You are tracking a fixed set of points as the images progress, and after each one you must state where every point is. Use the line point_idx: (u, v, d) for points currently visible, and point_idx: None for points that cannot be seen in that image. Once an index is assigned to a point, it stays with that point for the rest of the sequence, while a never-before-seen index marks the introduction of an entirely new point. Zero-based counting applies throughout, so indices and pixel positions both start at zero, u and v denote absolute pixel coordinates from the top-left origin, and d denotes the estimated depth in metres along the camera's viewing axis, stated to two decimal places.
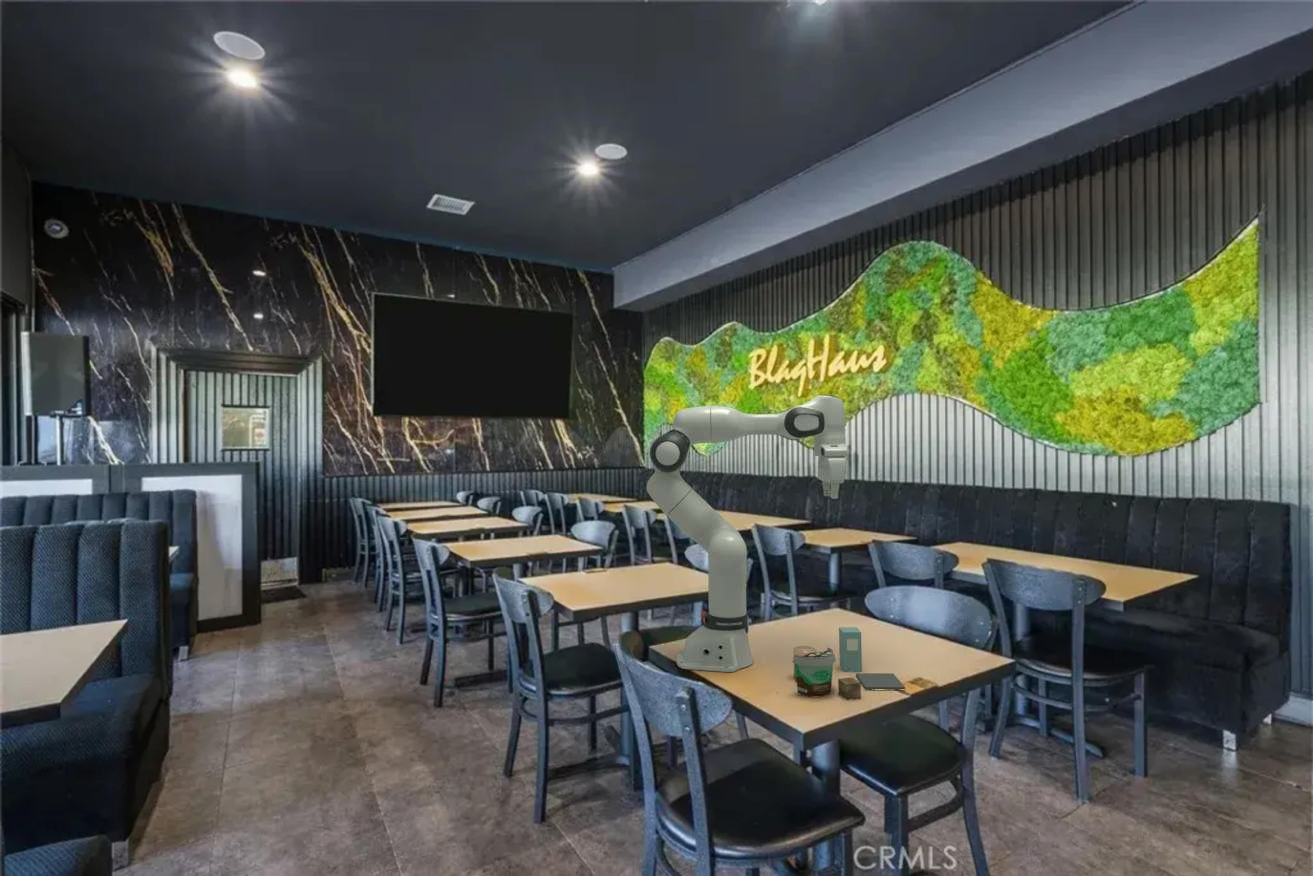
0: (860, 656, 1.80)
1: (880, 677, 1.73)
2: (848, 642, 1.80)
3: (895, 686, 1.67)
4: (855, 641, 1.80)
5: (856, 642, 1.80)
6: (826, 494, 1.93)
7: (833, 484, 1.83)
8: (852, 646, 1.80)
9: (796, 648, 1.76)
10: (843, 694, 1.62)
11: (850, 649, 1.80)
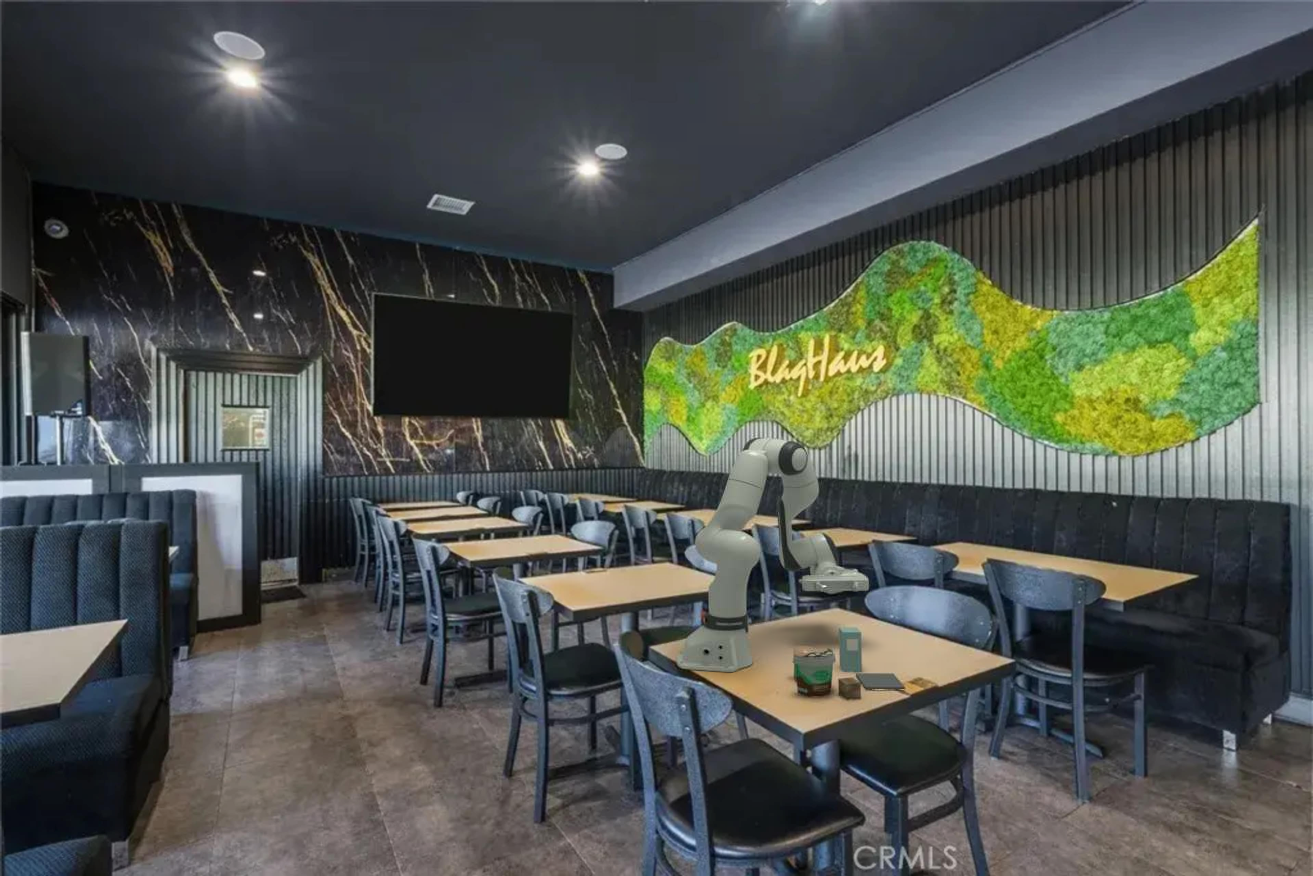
0: (860, 656, 1.80)
1: (880, 677, 1.73)
2: (848, 642, 1.80)
3: (895, 686, 1.67)
4: (855, 641, 1.80)
5: (856, 642, 1.80)
6: None
7: None
8: (852, 646, 1.80)
9: (796, 648, 1.76)
10: (843, 694, 1.62)
11: (850, 649, 1.80)
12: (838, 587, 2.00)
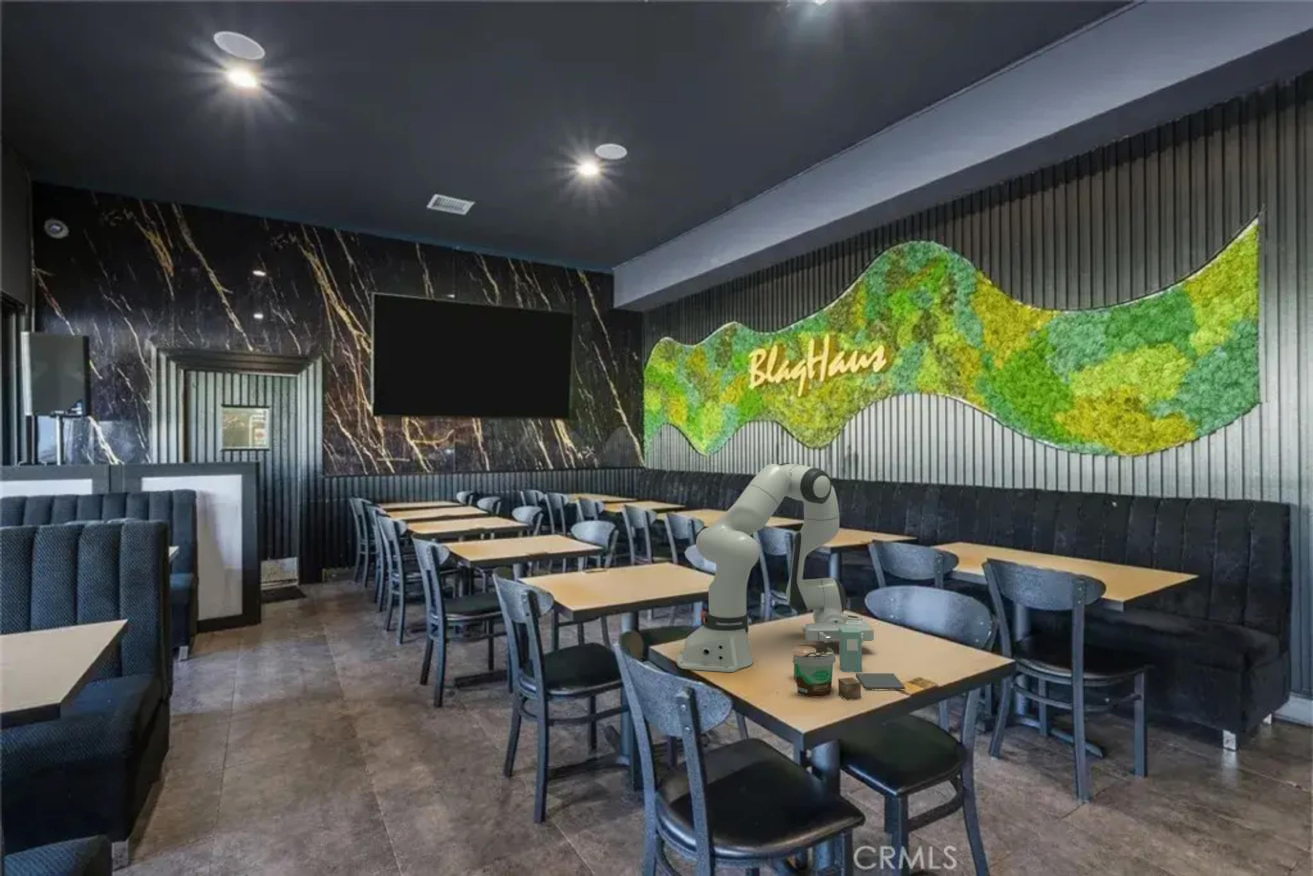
0: (860, 656, 1.80)
1: (880, 677, 1.73)
2: (848, 642, 1.80)
3: (895, 686, 1.67)
4: (855, 641, 1.80)
5: (856, 642, 1.80)
6: None
7: None
8: (852, 646, 1.80)
9: (796, 648, 1.76)
10: (843, 694, 1.62)
11: (850, 649, 1.80)
12: None
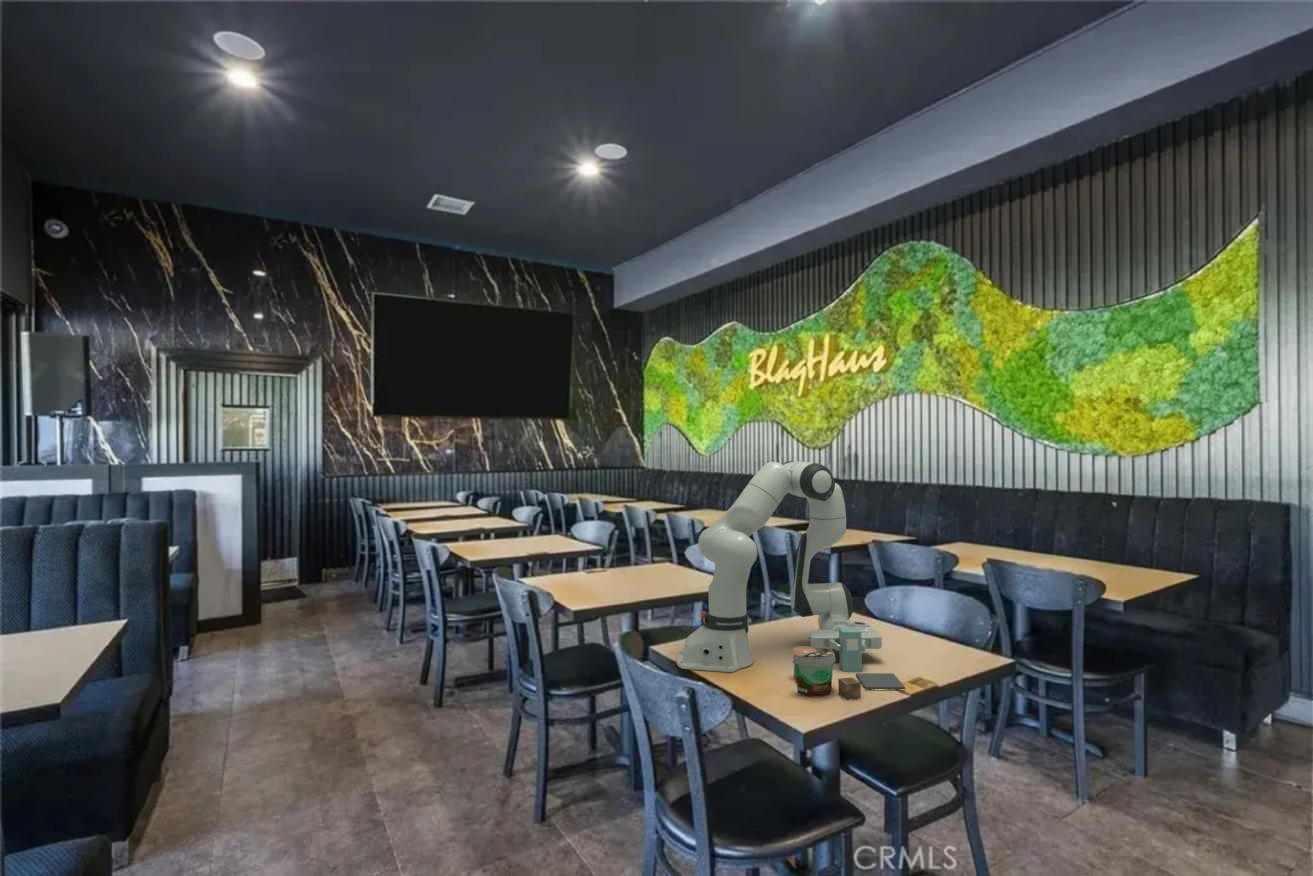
0: (860, 656, 1.80)
1: (880, 677, 1.73)
2: (848, 642, 1.80)
3: (895, 686, 1.67)
4: (855, 641, 1.80)
5: (856, 642, 1.80)
6: None
7: None
8: (852, 646, 1.80)
9: (796, 648, 1.76)
10: (843, 694, 1.62)
11: (850, 649, 1.80)
12: None
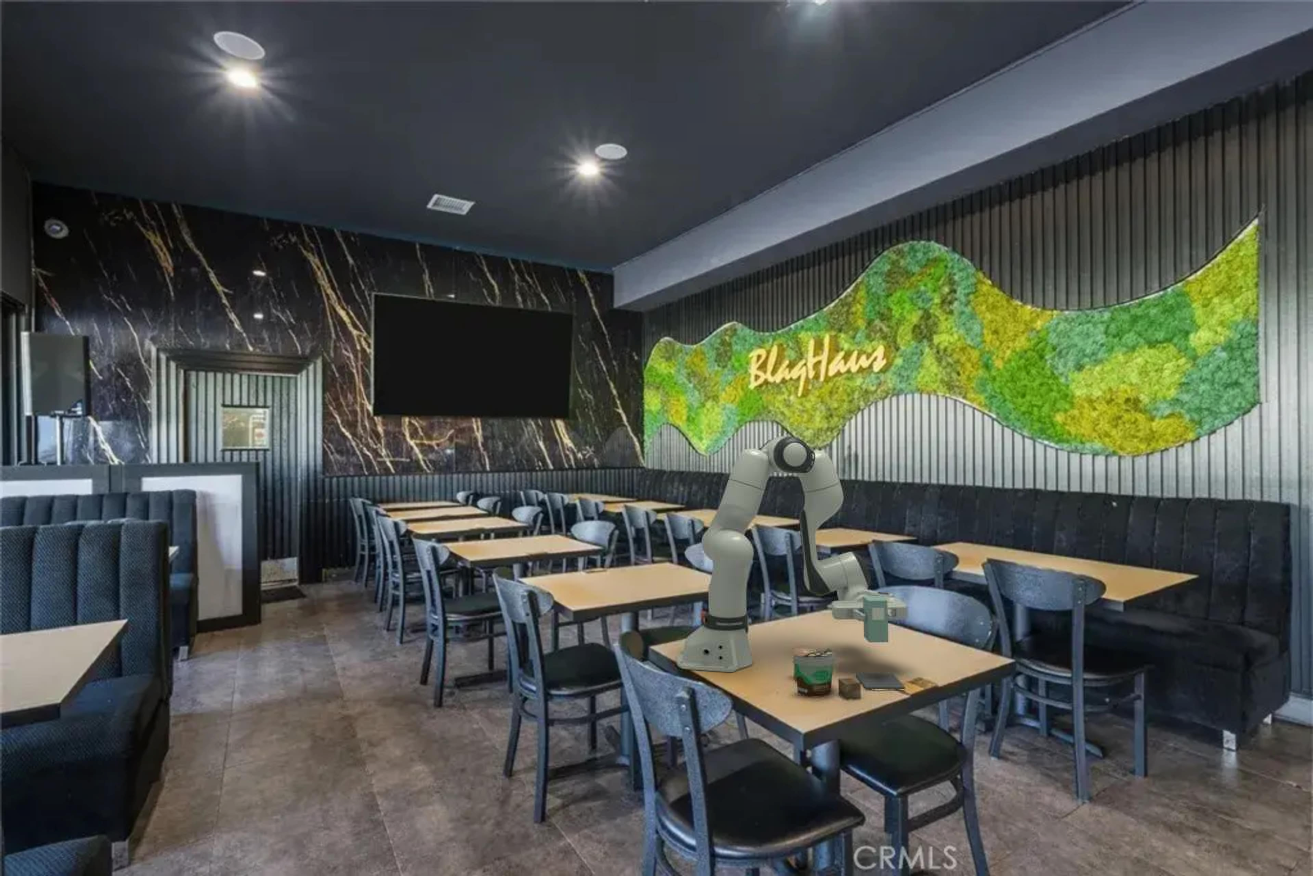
0: (886, 626, 1.71)
1: (880, 677, 1.73)
2: (874, 611, 1.71)
3: (895, 686, 1.67)
4: (881, 610, 1.70)
5: (882, 611, 1.70)
6: None
7: None
8: (878, 615, 1.70)
9: (796, 648, 1.76)
10: (843, 694, 1.62)
11: (876, 619, 1.71)
12: None
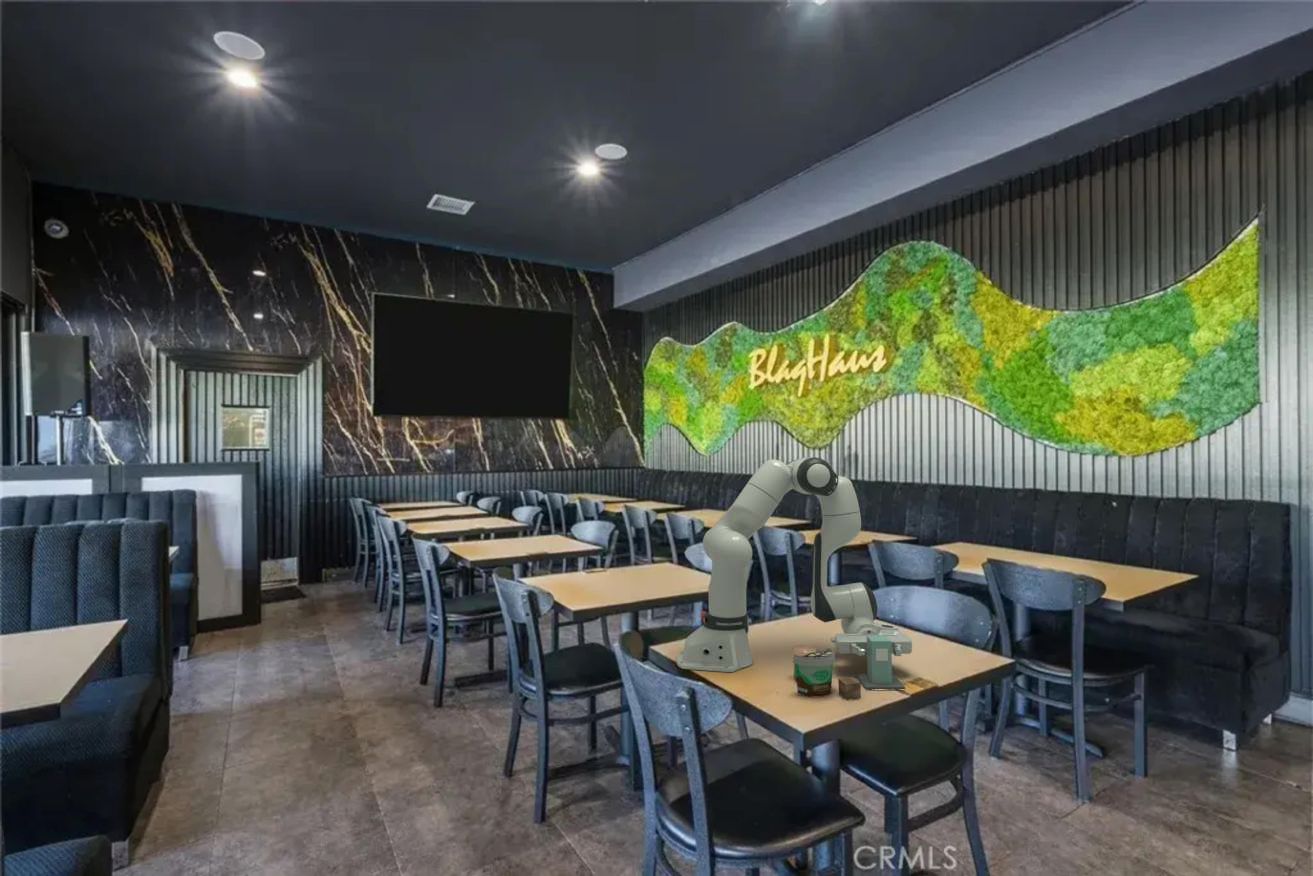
0: (890, 667, 1.69)
1: None
2: (877, 652, 1.69)
3: (895, 686, 1.67)
4: (885, 651, 1.69)
5: (886, 652, 1.69)
6: None
7: None
8: (882, 656, 1.69)
9: (796, 648, 1.76)
10: (843, 694, 1.62)
11: (879, 659, 1.69)
12: None
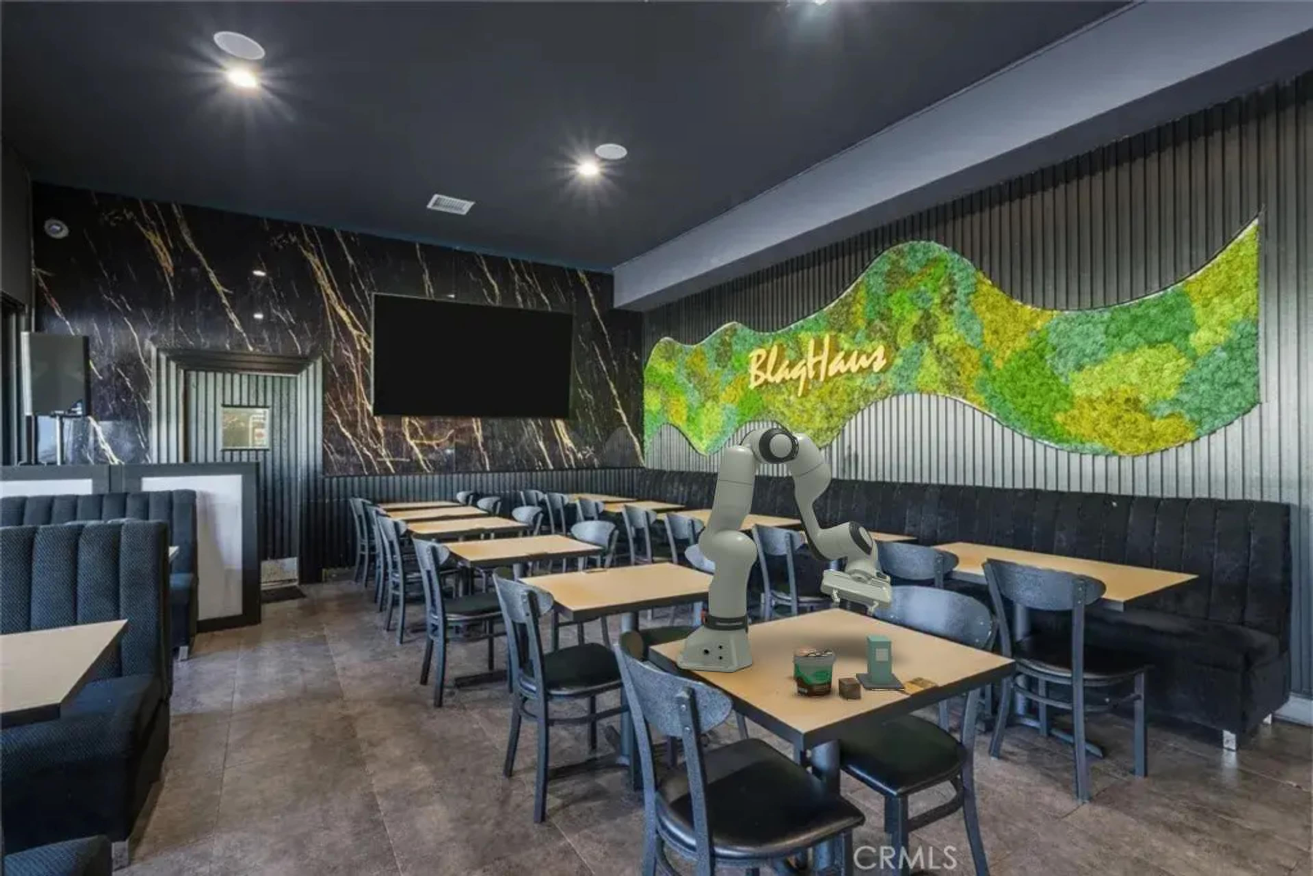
0: (890, 667, 1.69)
1: None
2: (877, 652, 1.69)
3: (895, 686, 1.67)
4: (885, 651, 1.69)
5: (886, 652, 1.69)
6: None
7: None
8: (882, 656, 1.69)
9: (796, 648, 1.76)
10: (843, 694, 1.62)
11: (879, 659, 1.69)
12: (857, 598, 1.89)
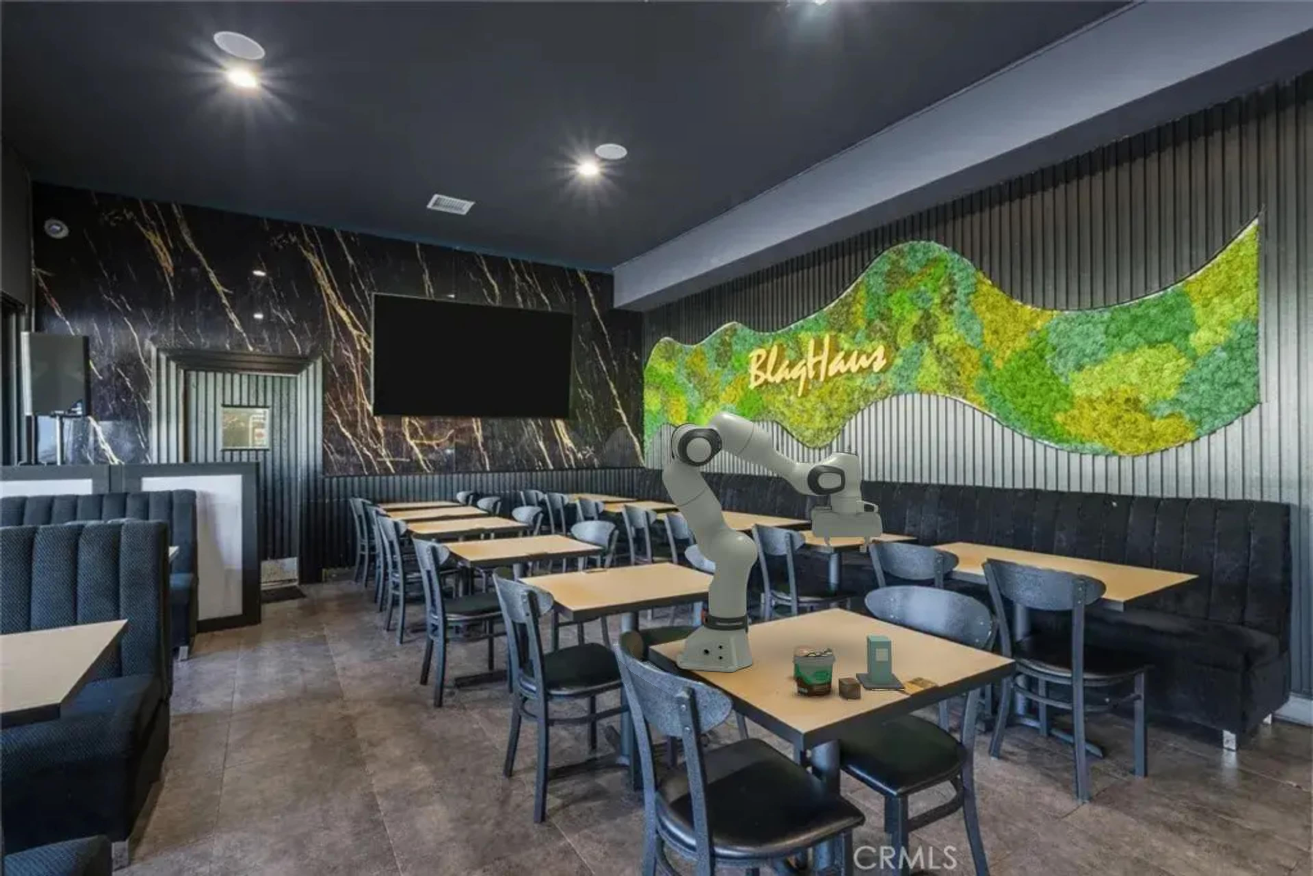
0: (890, 667, 1.69)
1: None
2: (877, 652, 1.69)
3: (895, 686, 1.67)
4: (885, 651, 1.69)
5: (886, 652, 1.69)
6: None
7: None
8: (882, 656, 1.69)
9: (796, 648, 1.76)
10: (843, 694, 1.62)
11: (879, 659, 1.69)
12: None
